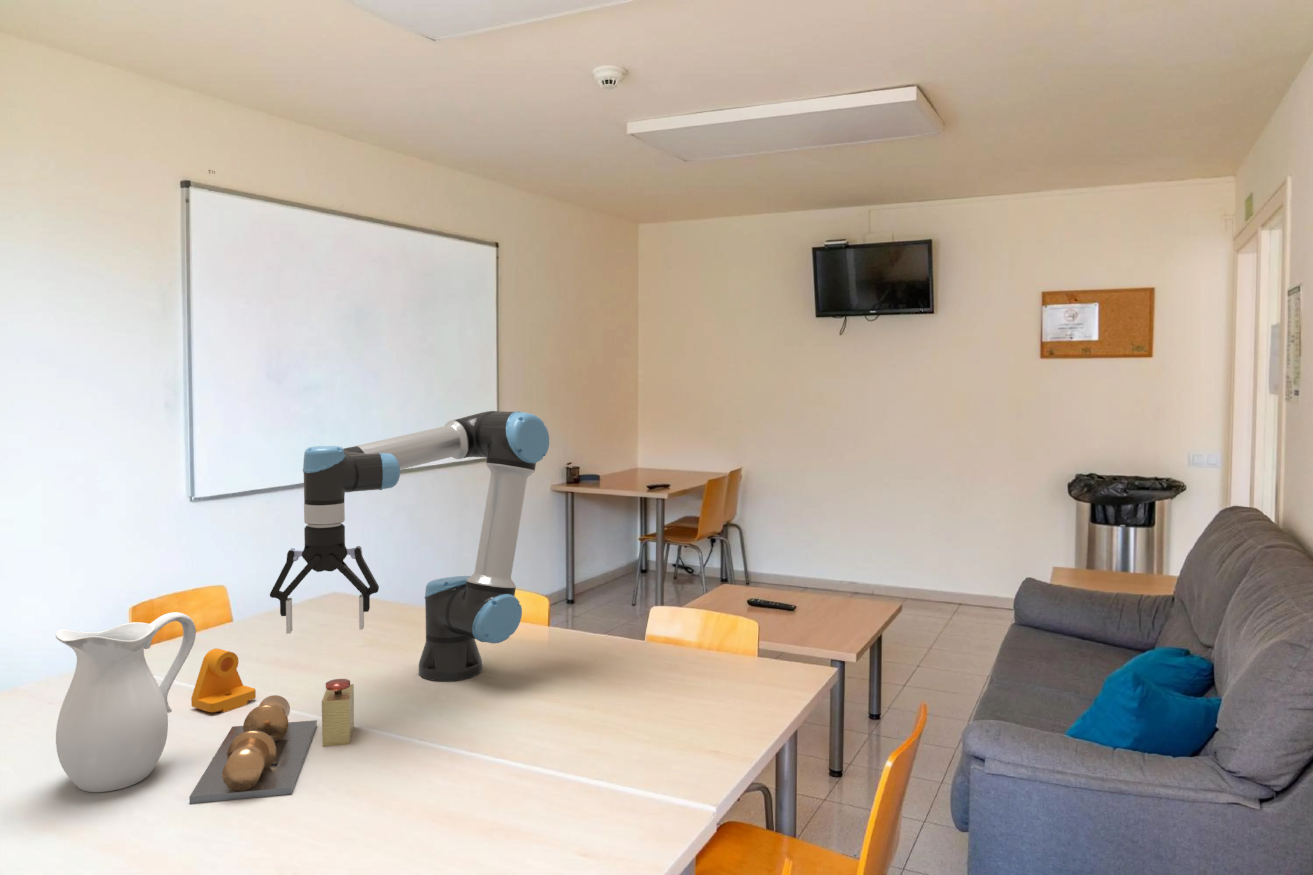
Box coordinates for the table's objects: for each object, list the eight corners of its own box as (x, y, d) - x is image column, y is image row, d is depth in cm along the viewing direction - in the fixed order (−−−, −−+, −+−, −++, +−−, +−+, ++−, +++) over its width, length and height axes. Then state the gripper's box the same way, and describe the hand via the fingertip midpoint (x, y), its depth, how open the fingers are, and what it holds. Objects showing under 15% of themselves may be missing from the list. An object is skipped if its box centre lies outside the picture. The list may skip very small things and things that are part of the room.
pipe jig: (232, 732, 179) (231, 692, 178) (316, 725, 183) (316, 686, 182) (189, 803, 149) (188, 755, 148) (291, 794, 153) (290, 747, 152)
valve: (354, 726, 182) (353, 674, 182) (349, 744, 174) (348, 689, 173) (328, 728, 181) (327, 676, 181) (322, 746, 173) (321, 691, 172)
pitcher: (87, 810, 146) (82, 644, 145) (38, 784, 155) (33, 628, 154) (224, 758, 167) (221, 612, 165) (174, 738, 175) (170, 600, 174)
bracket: (212, 716, 187) (210, 660, 187) (191, 709, 191) (190, 655, 190) (257, 701, 197) (256, 647, 196) (237, 694, 200) (236, 642, 200)
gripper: (390, 519, 183) (391, 621, 184) (260, 523, 177) (261, 628, 178) (389, 525, 176) (390, 630, 177) (253, 529, 169) (254, 638, 171)
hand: (325, 629), depth 177 cm, fingers open, 13 cm apart
